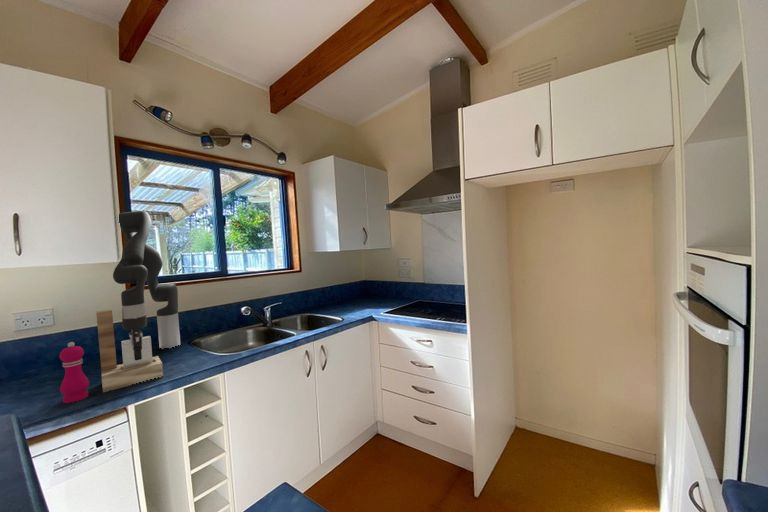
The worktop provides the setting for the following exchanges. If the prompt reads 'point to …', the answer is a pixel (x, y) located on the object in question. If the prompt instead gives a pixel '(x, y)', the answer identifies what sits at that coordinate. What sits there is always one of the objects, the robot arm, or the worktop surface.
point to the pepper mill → (73, 374)
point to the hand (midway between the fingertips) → (137, 358)
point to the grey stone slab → (129, 353)
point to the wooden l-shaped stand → (112, 372)
